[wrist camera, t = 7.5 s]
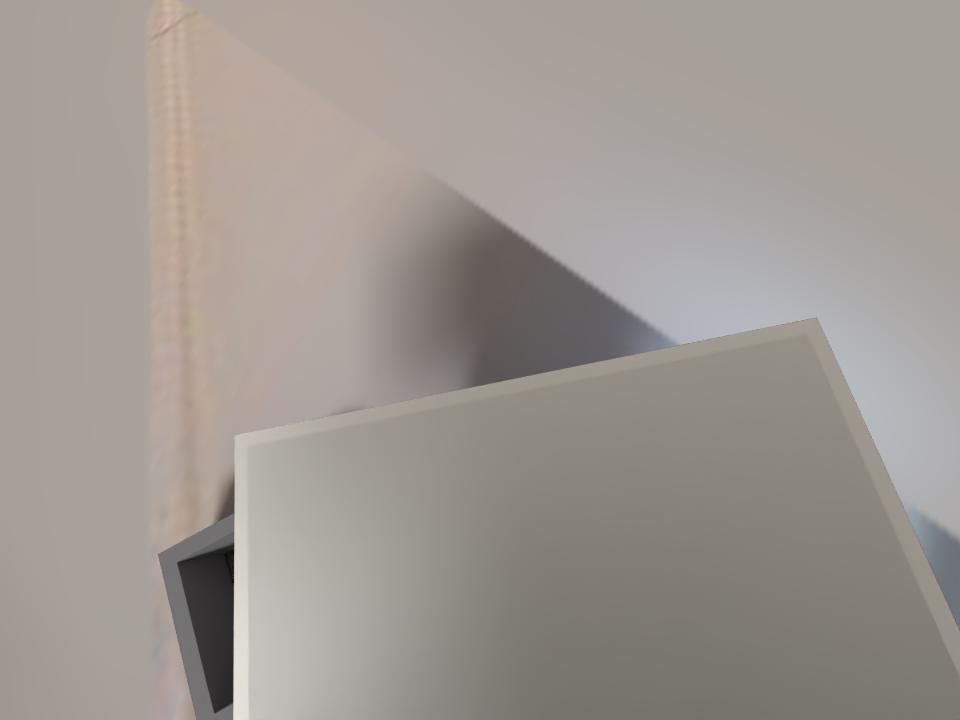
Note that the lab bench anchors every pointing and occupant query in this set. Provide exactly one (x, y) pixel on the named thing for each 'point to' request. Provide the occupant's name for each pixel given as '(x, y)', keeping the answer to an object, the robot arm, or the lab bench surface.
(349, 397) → the lab bench surface
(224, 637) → the frame
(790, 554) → the plug
